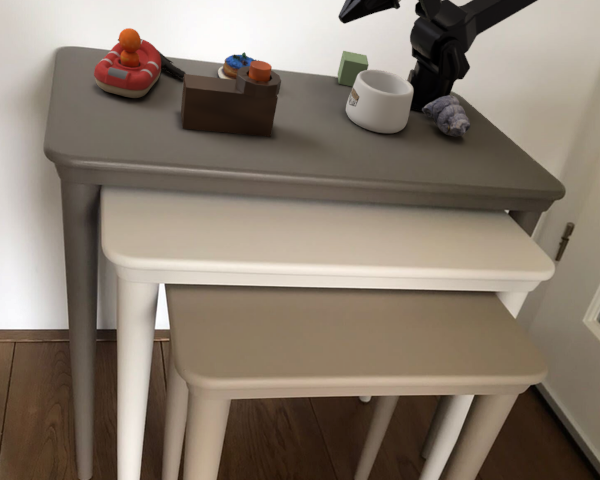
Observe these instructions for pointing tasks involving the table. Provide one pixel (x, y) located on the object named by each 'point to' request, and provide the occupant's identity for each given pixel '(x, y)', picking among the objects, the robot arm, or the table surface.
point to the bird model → (170, 67)
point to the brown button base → (230, 103)
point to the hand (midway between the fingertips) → (340, 20)
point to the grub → (448, 115)
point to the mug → (380, 101)
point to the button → (260, 71)
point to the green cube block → (351, 67)
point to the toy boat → (129, 66)
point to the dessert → (234, 66)
